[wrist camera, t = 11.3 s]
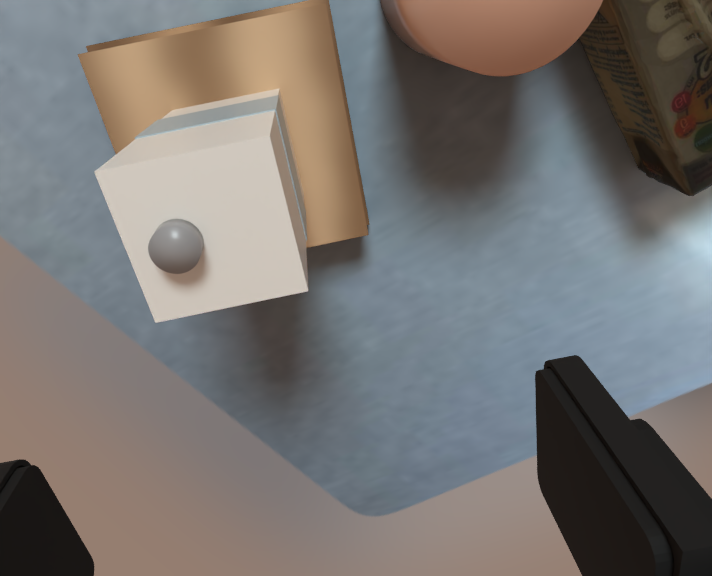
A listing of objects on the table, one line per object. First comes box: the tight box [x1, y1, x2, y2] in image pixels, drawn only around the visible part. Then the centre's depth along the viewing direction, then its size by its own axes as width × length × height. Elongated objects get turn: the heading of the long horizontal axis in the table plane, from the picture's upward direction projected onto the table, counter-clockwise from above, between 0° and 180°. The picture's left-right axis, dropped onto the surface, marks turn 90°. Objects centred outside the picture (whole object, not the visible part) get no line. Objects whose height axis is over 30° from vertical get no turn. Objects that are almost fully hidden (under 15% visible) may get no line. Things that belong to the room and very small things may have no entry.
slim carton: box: [95, 88, 308, 323], centre depth 23 cm, size 6×6×13 cm
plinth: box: [78, 0, 369, 248], centre depth 30 cm, size 13×13×3 cm
